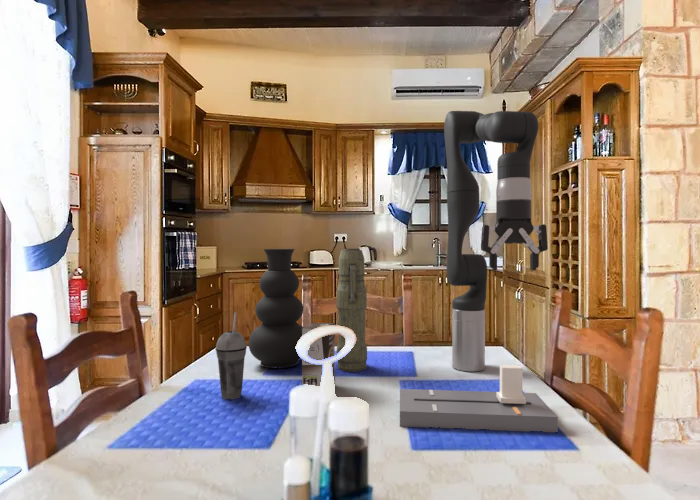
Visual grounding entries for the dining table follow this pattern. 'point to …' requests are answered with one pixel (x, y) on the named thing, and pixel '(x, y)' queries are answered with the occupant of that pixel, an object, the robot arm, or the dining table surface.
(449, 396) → the fader console
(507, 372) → the fader tab
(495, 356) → the dining table surface
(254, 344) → the vase
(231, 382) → the beverage cup
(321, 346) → the dark grey printed box
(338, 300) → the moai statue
